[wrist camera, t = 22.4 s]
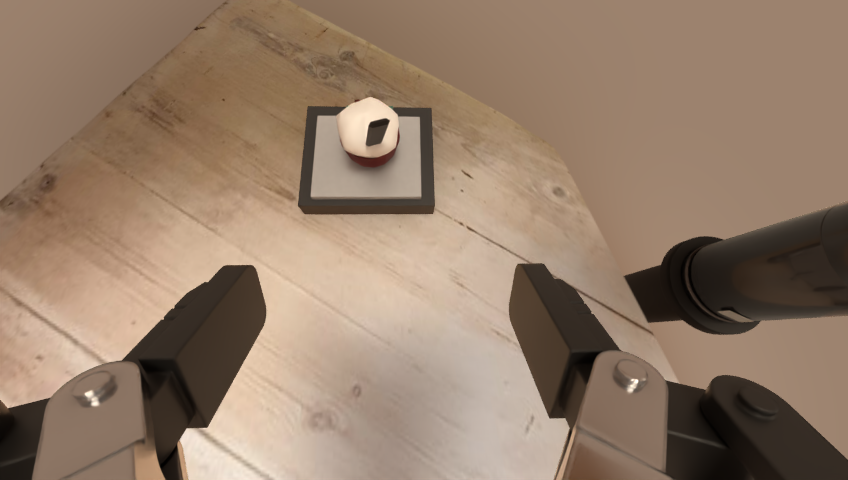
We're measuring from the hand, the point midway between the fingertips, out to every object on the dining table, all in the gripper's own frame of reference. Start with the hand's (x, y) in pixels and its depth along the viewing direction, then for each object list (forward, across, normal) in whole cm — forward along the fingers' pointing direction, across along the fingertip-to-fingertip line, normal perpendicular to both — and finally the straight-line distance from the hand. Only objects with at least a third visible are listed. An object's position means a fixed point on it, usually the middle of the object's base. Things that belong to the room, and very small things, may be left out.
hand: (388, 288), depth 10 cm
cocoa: (+29, +3, +3) cm, 30 cm away
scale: (+32, +4, +5) cm, 32 cm away
